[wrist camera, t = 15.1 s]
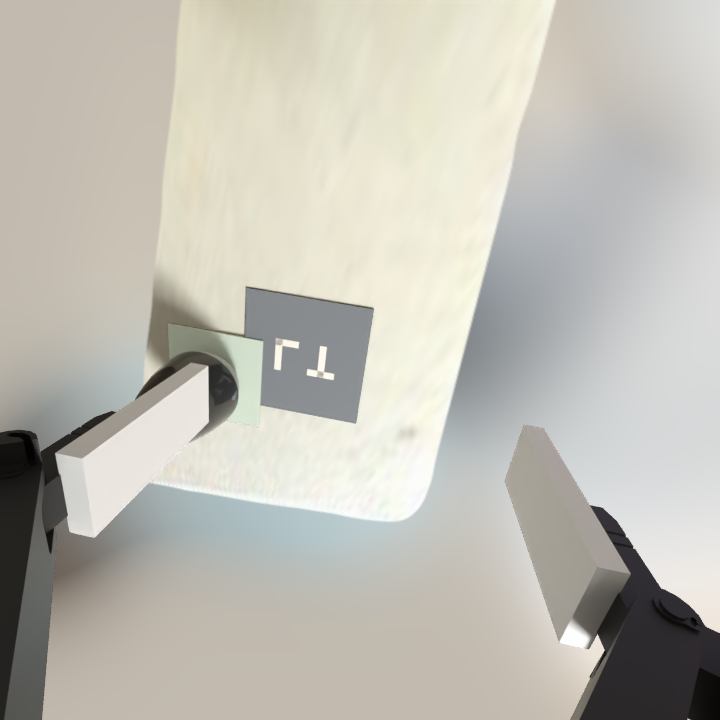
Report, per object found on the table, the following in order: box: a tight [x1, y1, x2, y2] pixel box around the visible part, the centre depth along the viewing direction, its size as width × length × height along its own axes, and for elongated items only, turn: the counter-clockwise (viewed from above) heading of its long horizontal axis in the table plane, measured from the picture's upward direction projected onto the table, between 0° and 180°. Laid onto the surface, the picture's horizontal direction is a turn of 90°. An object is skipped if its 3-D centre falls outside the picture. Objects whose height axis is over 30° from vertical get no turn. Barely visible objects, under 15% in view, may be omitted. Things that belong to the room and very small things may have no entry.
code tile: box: [245, 288, 374, 423], centre depth 50 cm, size 16×16×1 cm
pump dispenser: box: [135, 351, 239, 443], centre depth 45 cm, size 10×10×15 cm
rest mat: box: [168, 323, 263, 427], centre depth 53 cm, size 13×13×1 cm
